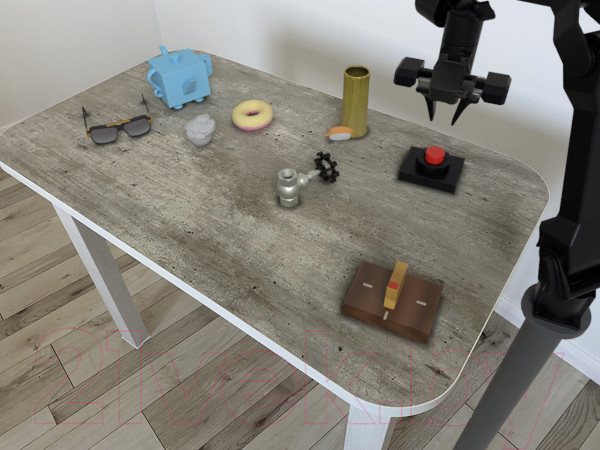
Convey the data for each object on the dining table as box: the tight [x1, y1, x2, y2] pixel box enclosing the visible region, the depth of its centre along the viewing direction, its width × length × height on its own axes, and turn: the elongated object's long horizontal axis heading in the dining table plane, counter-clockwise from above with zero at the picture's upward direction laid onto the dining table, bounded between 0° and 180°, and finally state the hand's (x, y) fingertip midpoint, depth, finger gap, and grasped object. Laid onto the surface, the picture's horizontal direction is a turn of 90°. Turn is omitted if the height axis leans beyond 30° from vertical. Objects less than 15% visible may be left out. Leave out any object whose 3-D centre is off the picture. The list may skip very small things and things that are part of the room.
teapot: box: [146, 44, 213, 110], centre depth 115 cm, size 16×18×11 cm
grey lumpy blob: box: [183, 113, 217, 147], centre depth 103 cm, size 6×7×7 cm
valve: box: [276, 150, 341, 208], centre depth 91 cm, size 7×7×12 cm
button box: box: [397, 145, 466, 195], centre depth 95 cm, size 11×9×4 cm
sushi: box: [324, 125, 354, 141], centre depth 105 cm, size 3×6×3 cm, turn 95°
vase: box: [339, 64, 371, 139], centre depth 103 cm, size 6×6×14 cm
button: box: [425, 145, 446, 164], centre depth 94 cm, size 4×4×2 cm
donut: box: [231, 99, 274, 132], centre depth 110 cm, size 10×5×9 cm
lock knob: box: [384, 260, 409, 310], centre depth 71 cm, size 6×2×5 cm, turn 156°
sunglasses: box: [81, 93, 153, 145], centre depth 110 cm, size 14×15×5 cm
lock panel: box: [341, 260, 444, 345], centre depth 74 cm, size 13×10×3 cm
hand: (441, 122), depth 88 cm, fingers open, 3 cm apart
